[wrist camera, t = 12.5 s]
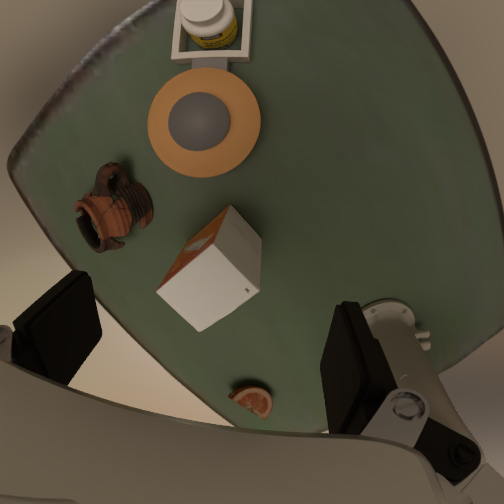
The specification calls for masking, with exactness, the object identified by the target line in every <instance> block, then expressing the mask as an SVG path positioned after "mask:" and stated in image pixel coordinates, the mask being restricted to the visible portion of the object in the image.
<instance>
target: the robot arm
mask: <svg viewBox="0 0 504 504" xmlns="http://www.w3.org/2000/svg"><path fill="white" fill-rule="evenodd" d="M13 325H14V327H15V331H14V332H12V330H11V328H10V327H9V326H7V325H0V504H504V478H503V477H502V476H501V475H500V474H499V473H498V472H496V470H494V469H493V468H492V467H491V466H490V465H489V464H488V463H487V462H486V459H485V456H484V453H483V451H482V449H481V447H480V445H479V444H478V442H477V441H476V439H475V438H474V437H473V435H472V433H471V432H470V431H469V429H468V428H467V426H466V425H465V423H464V422H463V420H462V419H461V417H460V415H459V414H458V412H457V411H456V409H455V407H454V405H453V404H452V402H451V400H450V398H449V396H448V394H447V392H446V390H445V388H444V386H443V384H442V383H441V381H440V379H439V377H438V375H437V373H436V371H435V370H434V368H433V366H432V364H431V362H430V360H429V359H428V357H427V355H426V353H425V352H424V351H428V350H429V349H430V347H431V342H430V340H419V341H418V338H428V337H429V336H430V331H429V330H420V331H418V329H417V328H416V327H415V317H414V314H413V312H412V311H411V309H410V308H409V306H407V305H406V304H405V303H403V302H401V301H398V300H394V299H386V300H380V301H377V302H374V303H371V304H369V305H367V306H365V307H364V308H362V309H361V307H360V305H359V303H358V302H348V301H343V302H342V303H341V305H336V307H335V311H334V315H333V319H332V323H331V327H330V330H329V334H328V338H327V341H326V345H325V349H324V352H323V355H322V359H321V363H320V372H321V378H322V385H323V392H324V399H325V406H326V414H327V421H328V429H329V434H328V433H326V434H325V433H302V432H283V431H270V430H259V429H248V428H239V427H230V426H223V425H216V424H210V423H203V422H198V421H192V420H187V419H181V418H176V417H172V416H167V415H162V414H158V413H154V412H149V411H145V410H141V409H138V408H134V407H130V406H126V405H123V404H119V403H116V402H113V401H109V400H106V399H103V398H100V397H97V396H94V395H91V394H88V393H85V392H82V391H79V390H76V389H73V388H71V387H68V386H67V385H68V384H69V383H70V381H71V380H72V378H73V377H74V375H75V374H76V373H77V371H78V370H79V368H80V366H81V365H82V364H83V362H84V361H85V360H86V358H87V357H88V356H89V354H90V353H91V352H92V350H93V349H94V347H95V346H96V345H97V343H98V342H99V341H100V339H101V337H102V328H101V324H100V320H99V315H98V311H97V306H96V302H95V296H94V291H93V285H92V280H91V277H90V276H88V273H87V272H85V271H79V270H73V271H71V272H70V273H69V274H67V275H66V276H65V277H64V278H63V279H61V280H60V281H59V282H58V283H57V284H55V285H54V286H53V287H52V288H51V289H49V290H48V291H47V292H46V293H45V294H43V295H42V296H41V297H40V298H39V299H38V300H37V301H35V302H34V303H33V304H32V305H31V306H30V307H29V308H27V309H26V310H25V311H24V312H23V313H22V314H21V315H20V316H19V317H17V318H16V319H15V320H14V321H13Z"/></svg>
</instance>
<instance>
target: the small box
mask: <svg viewBox="0 0 504 504" xmlns="http://www.w3.org/2000/svg"><path fill="white" fill-rule="evenodd" d="M261 251H262V239H261V238H260V236H259V235H258V234H257V233H256V232H255V231H254V230H253V229H252V228H251V226H250V225H249V224H248V223H247V222H246V221H245V220H244V219H243V218H242V217H241V215H240V214H239V213H238V212H237V211H236V210H235V209H234V208H233V206H232V205H231V204H230V205H229V206H227V207H226V208H225V209H224V210H223V211H222V212H221V213H220V214H219V215H218V216H217V217H215V218H214V219H213V220H212V221H211V222H210V223H209V224H207V225H206V226H205V227H204V228H203V229H202V230H200V231H199V232H198V233H197V234H196V235H195V236H193V237H192V238H191V239H190V240H189V241H188V242H187V243H186V245H185V246H184V248H183V249H182V251H181V253H180V254H179V256H178V257H177V259H176V260H175V262H174V264H173V265H172V267H171V268H170V270H169V271H168V273H167V275H166V276H165V278H164V279H163V281H162V283H161V284H160V286H159V288H158V289H157V290H156V292H157V293H158V294H159V295H160V296H161V297H162V298H163V299H164V300H165V301H166V302H167V303H168V304H169V305H170V306H171V307H172V308H173V309H174V310H176V311H177V312H178V313H179V314H180V315H181V316H182V317H183V318H184V319H185V320H186V321H187V322H189V323H190V324H191V325H192V326H193V327H194V328H195V329H196V330H197V331H198V332H201V331H203V330H204V329H206V328H208V327H209V326H211V325H212V324H214V323H215V322H217V321H218V320H220V319H221V318H223V317H225V316H226V315H228V314H230V313H231V312H232V311H234V310H235V309H236V308H237V307H239V306H240V305H241V304H243V303H244V302H246V301H247V300H248V299H250V298H251V297H253V296H254V295H255V294H257V293H258V292H259V291H260V276H261Z"/></svg>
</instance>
